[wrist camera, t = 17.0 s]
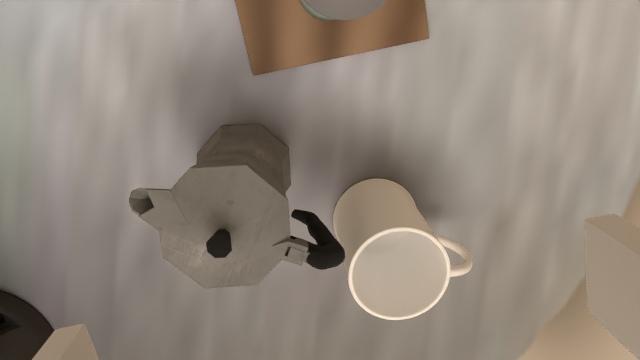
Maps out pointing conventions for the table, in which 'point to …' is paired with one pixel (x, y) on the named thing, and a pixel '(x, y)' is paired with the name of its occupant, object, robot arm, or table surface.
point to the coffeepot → (234, 213)
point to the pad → (323, 32)
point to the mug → (392, 251)
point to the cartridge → (340, 8)
